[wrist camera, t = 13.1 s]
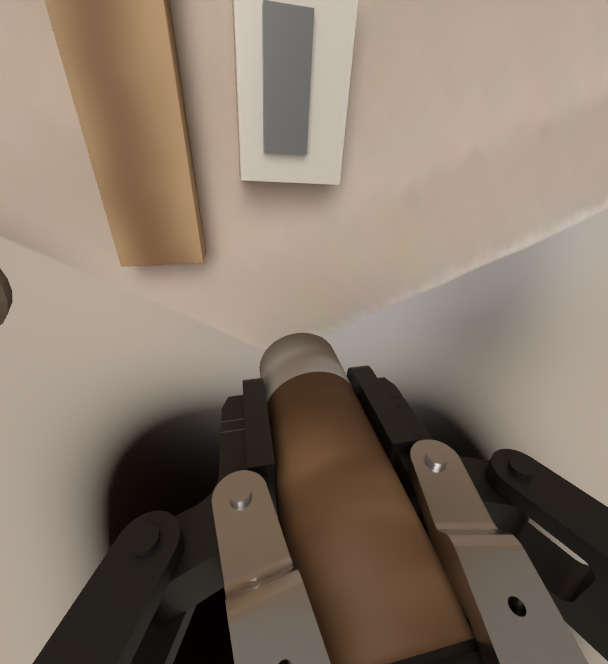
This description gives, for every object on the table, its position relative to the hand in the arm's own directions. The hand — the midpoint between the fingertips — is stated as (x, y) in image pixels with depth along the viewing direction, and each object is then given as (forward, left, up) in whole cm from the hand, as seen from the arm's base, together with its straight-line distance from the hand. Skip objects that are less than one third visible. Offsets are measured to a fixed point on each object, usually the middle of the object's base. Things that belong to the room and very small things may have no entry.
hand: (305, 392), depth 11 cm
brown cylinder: (0, 0, -2) cm, 2 cm away
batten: (+7, -9, -15) cm, 19 cm away
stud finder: (-2, -11, -15) cm, 19 cm away
